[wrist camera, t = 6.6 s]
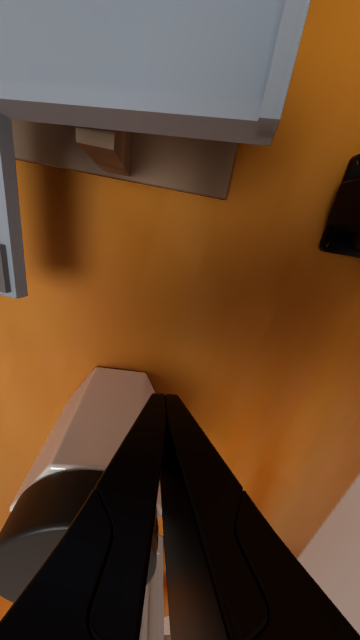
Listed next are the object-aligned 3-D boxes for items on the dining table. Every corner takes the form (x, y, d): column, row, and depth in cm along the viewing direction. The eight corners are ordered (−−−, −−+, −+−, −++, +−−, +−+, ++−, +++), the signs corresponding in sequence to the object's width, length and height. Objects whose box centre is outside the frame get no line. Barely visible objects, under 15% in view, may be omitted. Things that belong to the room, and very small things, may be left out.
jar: (124, 445, 24) (94, 626, 13) (56, 410, 22) (-53, 598, 11) (178, 393, 22) (196, 555, 11) (109, 348, 20) (43, 499, 9)
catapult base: (245, 92, 14) (298, 8, 9) (224, 199, 16) (255, 185, 11) (-19, 23, 12) (-162, -142, 7) (-4, 155, 14) (-102, 111, 9)
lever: (317, -45, 6) (349, -153, 5) (221, 341, 11) (218, 360, 9) (-70, -37, 8) (-148, -110, 7) (-17, 285, 13) (-56, 291, 11)
